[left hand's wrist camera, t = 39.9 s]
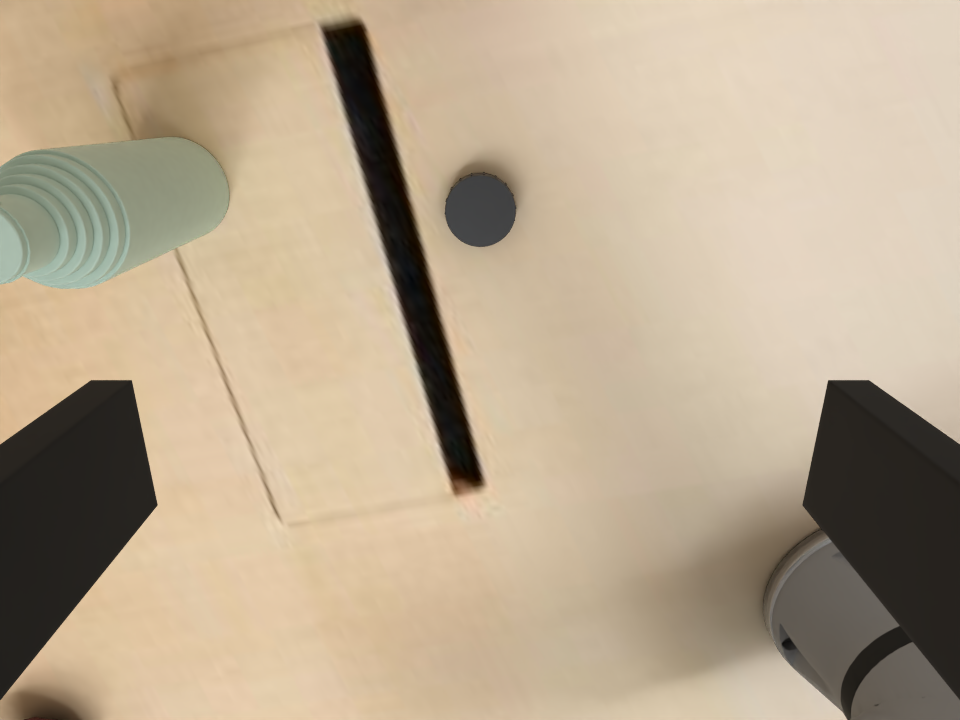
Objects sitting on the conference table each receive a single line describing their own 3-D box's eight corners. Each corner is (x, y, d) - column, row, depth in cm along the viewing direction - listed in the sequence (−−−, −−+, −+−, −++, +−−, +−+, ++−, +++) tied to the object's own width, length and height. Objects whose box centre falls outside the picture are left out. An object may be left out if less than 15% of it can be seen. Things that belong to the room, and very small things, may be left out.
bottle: (138, 121, 40) (-104, 133, 23) (238, 157, 40) (73, 193, 24) (122, 218, 42) (-110, 292, 25) (218, 251, 42) (53, 343, 26)
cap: (471, 256, 43) (471, 261, 41) (431, 198, 41) (430, 202, 40) (528, 217, 42) (530, 221, 40) (489, 157, 40) (489, 159, 39)
